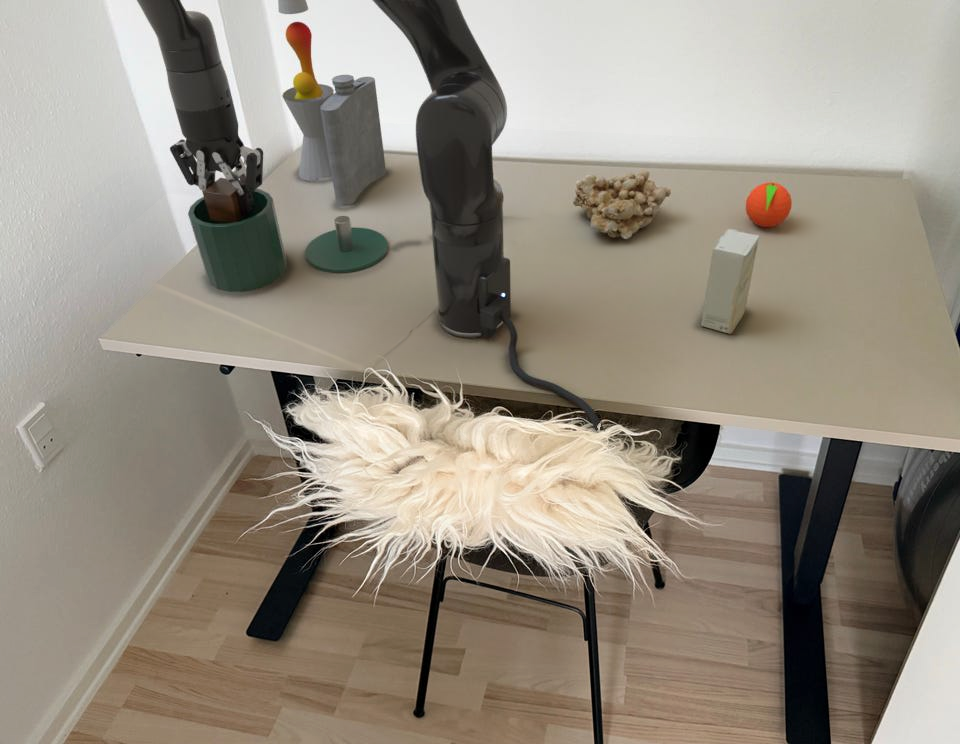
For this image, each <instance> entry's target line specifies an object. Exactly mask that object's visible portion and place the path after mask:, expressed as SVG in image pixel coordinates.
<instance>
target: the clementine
mask: <svg viewBox="0 0 960 744" xmlns="http://www.w3.org/2000/svg"><path fill="white" fill-rule="evenodd" d="M792 201H793V200H792V197H791V194H790V193H789V191H788V189H786V188H785V187H784V186H783V185H781V184H779V183H778V182H771V181H770V182H764V183H761V184H759V185H757V186H755V187H754V188H753V189H752V190H751V191H750V193H749V194H748V196H747V198H746V200H745V211H746V215H747V217H748V218H749V220H750V221H751V222H752V223H754V224H755V225H756V226H759V227H762V228H772V227H775V226H777V225H779V224H781V223H783V222H784V221H785V220H786V219H787V218H788V216H789V215H790V212H791V210H792V205H793V202H792Z"/></svg>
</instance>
